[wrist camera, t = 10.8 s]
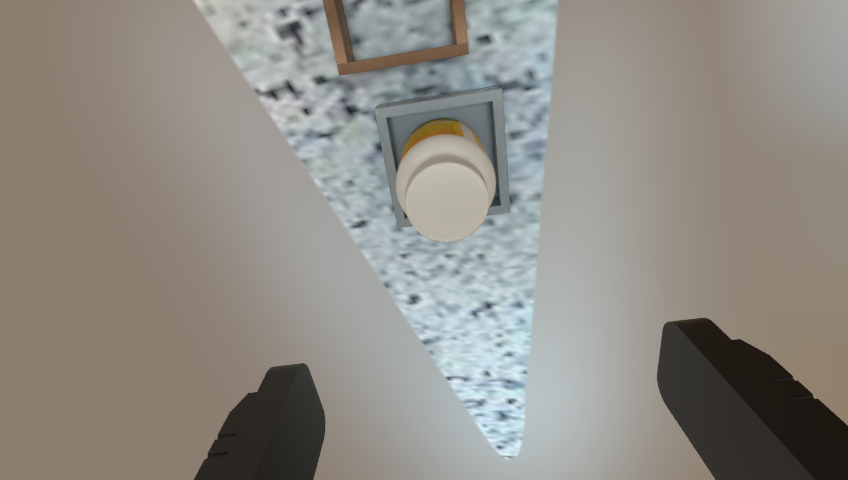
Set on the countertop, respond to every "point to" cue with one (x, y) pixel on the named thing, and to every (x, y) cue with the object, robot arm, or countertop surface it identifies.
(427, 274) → the countertop surface
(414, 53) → the wooden square frame
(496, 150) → the tray
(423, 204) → the supplement bottle
